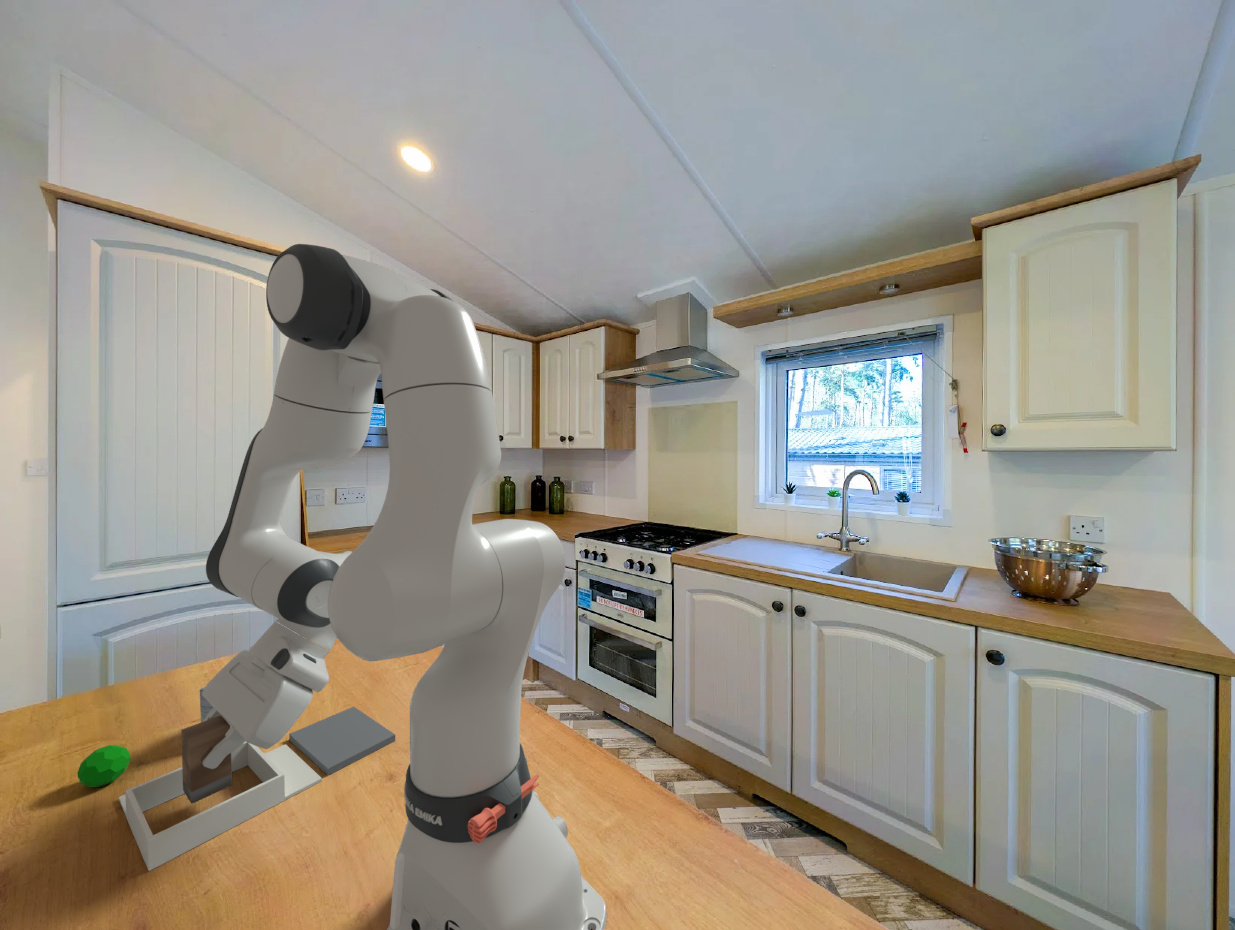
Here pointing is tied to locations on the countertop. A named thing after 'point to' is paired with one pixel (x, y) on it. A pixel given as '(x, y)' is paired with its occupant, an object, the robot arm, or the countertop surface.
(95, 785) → the polyhedron
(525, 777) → the robot arm
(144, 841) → the rectangular frame
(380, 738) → the mat
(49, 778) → the countertop surface
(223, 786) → the walnut block
